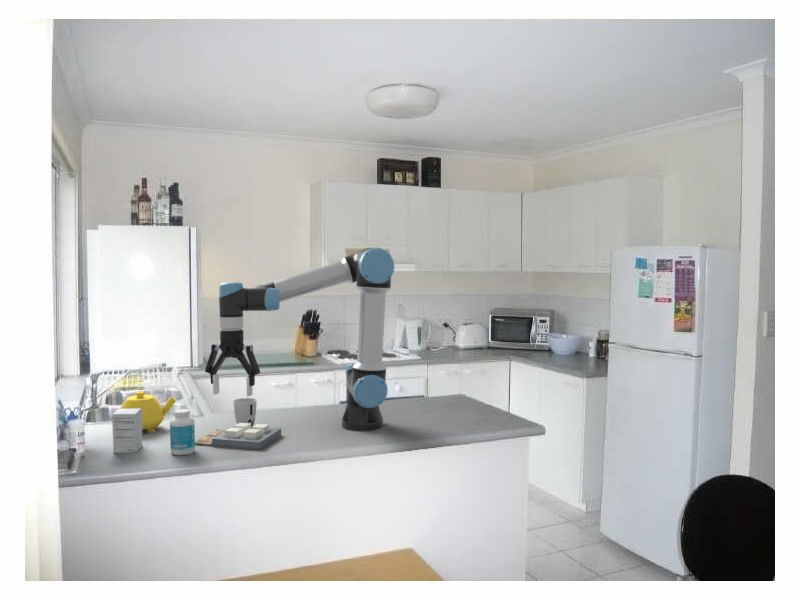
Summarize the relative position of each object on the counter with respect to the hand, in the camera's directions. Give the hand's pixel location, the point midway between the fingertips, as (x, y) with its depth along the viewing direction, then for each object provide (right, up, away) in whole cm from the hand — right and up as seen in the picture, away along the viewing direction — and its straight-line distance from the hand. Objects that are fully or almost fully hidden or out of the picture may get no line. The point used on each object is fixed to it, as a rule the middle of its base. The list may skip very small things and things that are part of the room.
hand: (232, 394), depth 230 cm
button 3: (+7, -14, -1) cm, 16 cm away
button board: (+4, -16, +4) cm, 17 cm away
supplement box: (-32, -17, -6) cm, 37 cm away
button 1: (0, -14, +1) cm, 14 cm away
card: (-8, -16, +6) cm, 19 cm away
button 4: (+8, -14, +6) cm, 17 cm away
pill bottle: (-13, -17, -10) cm, 24 cm away
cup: (0, -15, +20) cm, 25 cm away
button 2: (+2, -14, +7) cm, 16 cm away
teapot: (-35, -15, +18) cm, 42 cm away
